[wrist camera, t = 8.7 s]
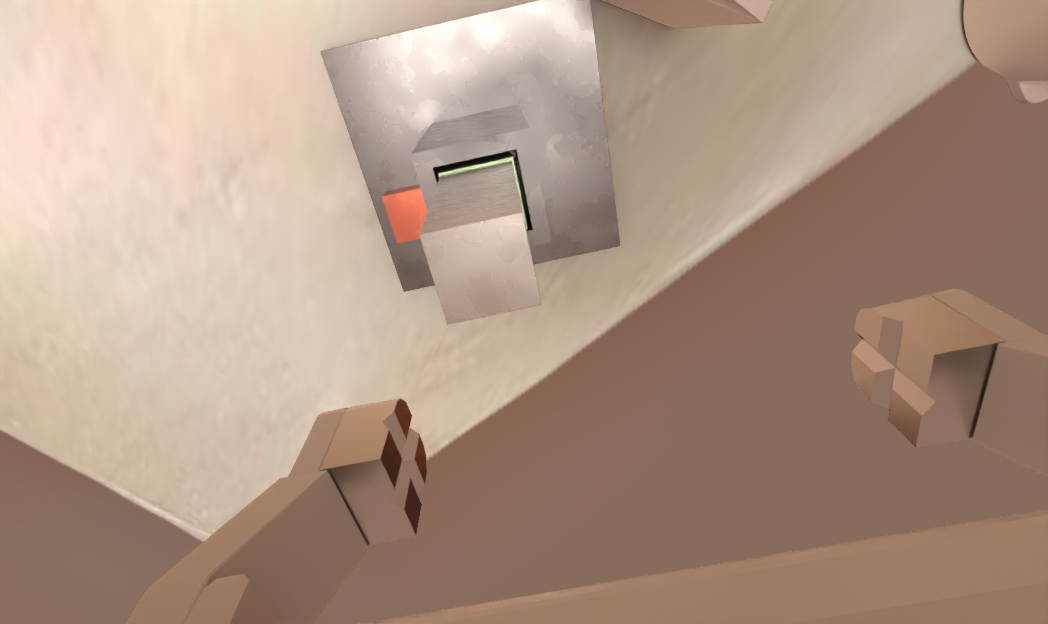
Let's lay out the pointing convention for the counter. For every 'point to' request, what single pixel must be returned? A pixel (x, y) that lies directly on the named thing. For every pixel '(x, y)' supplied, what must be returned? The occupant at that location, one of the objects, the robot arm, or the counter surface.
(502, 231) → the block
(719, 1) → the milk carton
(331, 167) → the counter surface
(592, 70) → the jack base
